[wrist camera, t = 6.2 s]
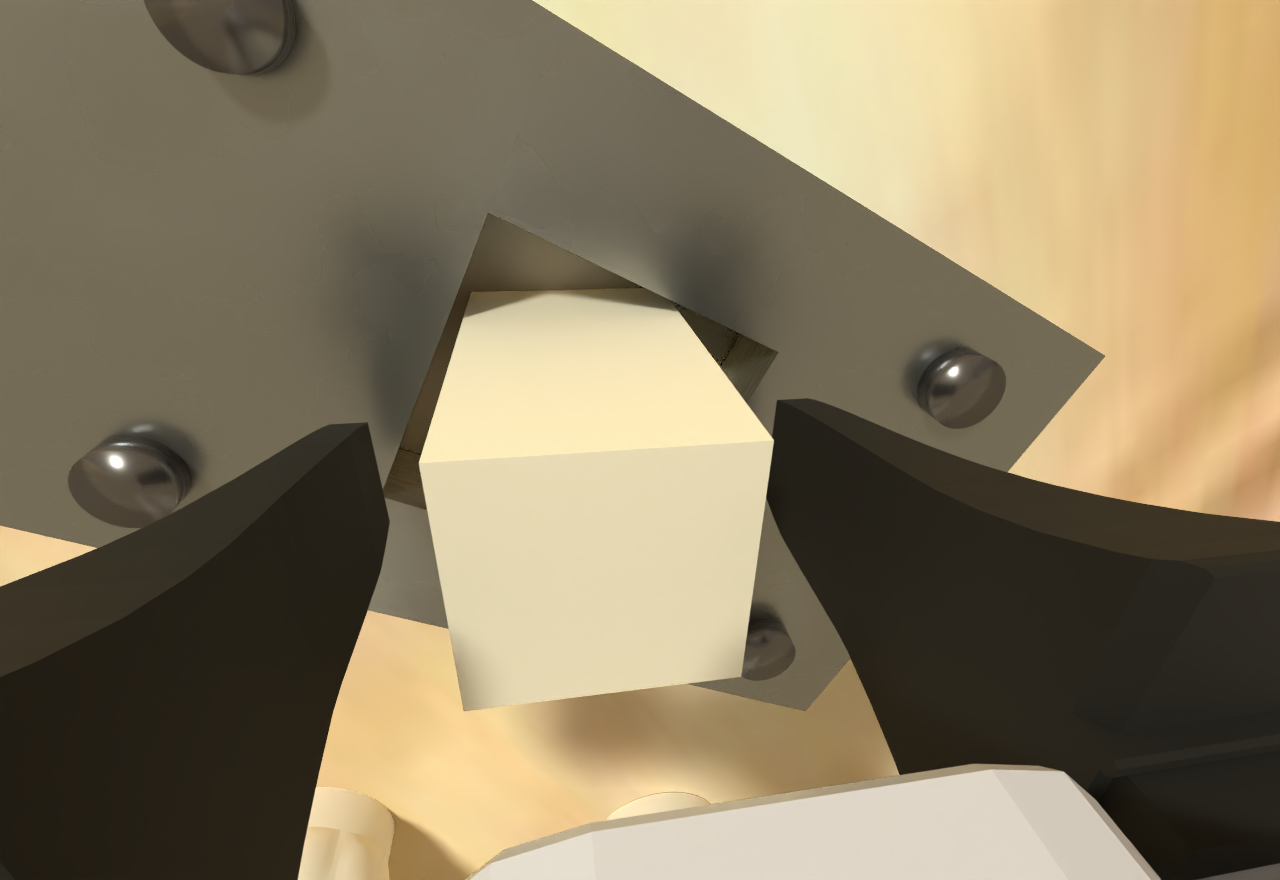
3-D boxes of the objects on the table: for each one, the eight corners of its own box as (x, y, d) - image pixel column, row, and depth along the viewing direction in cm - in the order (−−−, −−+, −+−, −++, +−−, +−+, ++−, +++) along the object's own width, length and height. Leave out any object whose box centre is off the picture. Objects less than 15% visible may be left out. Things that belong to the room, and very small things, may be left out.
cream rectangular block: (660, 287, 13) (773, 440, 7) (655, 448, 15) (740, 676, 9) (471, 292, 13) (418, 463, 7) (490, 458, 15) (464, 711, 8)
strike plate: (1039, 327, 15) (1128, 366, 13) (780, 657, 20) (813, 729, 17) (80, -258, 8) (-88, -393, 6) (12, 453, 13) (-99, 529, 10)
